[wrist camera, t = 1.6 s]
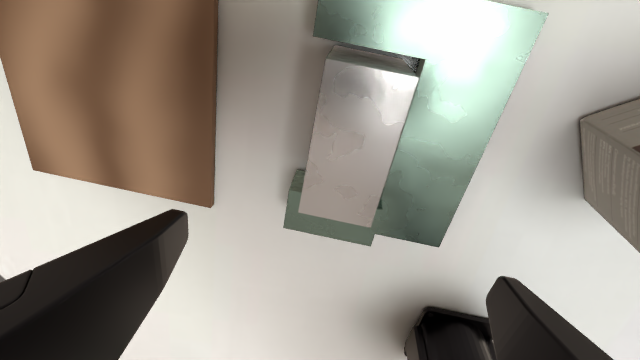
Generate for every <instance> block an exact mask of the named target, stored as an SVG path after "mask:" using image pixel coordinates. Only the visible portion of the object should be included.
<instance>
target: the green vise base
mask: <svg viewBox="0 0 640 360" xmlns="http://www.w3.org/2000/svg"><path fill="white" fill-rule="evenodd" d="M548 14H549V13H545V12H540V11H535V10H530V9H525V8H521V7H516V6H511V5H506V4H501V3H496V2H491V1H486V0H318V7H317V13H316V20H315V26H314V33H313V36H315V37H320V38H325V39H330V40H334V41H339V42H344V43H349V44H354V45H359V46H363V47H368V48H373V49H378V50H383V51H388V52H392V53H397V54H402V55H407V56H412V57H416V58H420V61H419V65H418V68H417V71H416V75H417V76H418V78H419V79H418V82H417V85H416V88H415V91H414V94H413V97H412V100H411V104H410V107H409V110H408V113H407V116H406V119H405V122H404V125H403V128H402V132H401V135H400V138H399V141H398V144H397V147H396V150H395V153H394V157H393V160H392V163H391V166H390V169H389V172H388V175H387V178H386V181H385V185H384V188H383V191H382V194H381V197H380V200H379V203H378V206H377V209H376V213H375V216H374V219H373V222H372V225H371V228H369V227H364V226H360V225H355V224H350V223H346V222H341V221H336V220H332V219H327V218H322V217H317V216H313V215H308V214H303V213H299V212H298V211H299V205H300V200H301V194H302V188H303V183H304V177H305V172H306V171H303V170H299V169H297V171H296V174H295V176H294V179H293V182H292V184H291V187H290V189H289V194H288V201H287V207H286V214H285V220H284V227H283V228H287V229H292V230H296V231H301V232H306V233H310V234H315V235H320V236H324V237H329V238H334V239H338V240H343V241H348V242H352V243H357V244H362V245H366V246H371V244H372V241H373V238H374V235H375V234H378V235H383V236H388V237H392V238H397V239H402V240H406V241H411V242H416V243H420V244H425V245H430V246H435V247H439V246H440V244H441V242H442V240H443V238H444V236H445V233H446V231H447V229H448V227H449V225H450V223H451V221H452V218H453V216H454V214H455V212H456V210H457V208H458V206H459V204H460V201H461V199H462V197H463V195H464V193H465V191H466V189H467V186H468V184H469V182H470V180H471V178H472V176H473V174H474V172H475V169H476V167H477V165H478V163H479V161H480V159H481V157H482V154H483V152H484V150H485V148H486V146H487V144H488V142H489V140H490V137H491V135H492V133H493V131H494V129H495V127H496V125H497V123H498V120H499V118H500V116H501V114H502V112H503V110H504V108H505V105H506V103H507V101H508V99H509V97H510V95H511V93H512V91H513V88H514V86H515V84H516V82H517V80H518V78H519V76H520V73H521V71H522V69H523V67H524V65H525V63H526V61H527V59H528V56H529V54H530V52H531V50H532V48H533V46H534V44H535V41H536V39H537V37H538V35H539V33H540V31H541V29H542V27H543V24H544V22H545V20H546V18H547V16H548Z"/></svg>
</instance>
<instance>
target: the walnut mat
mask: <svg viewBox="0 0 640 360" xmlns="http://www.w3.org/2000/svg"><path fill="white" fill-rule="evenodd" d="M217 35H218V0H0V58H1V61H2V65H3V68H4V71H5V75H6V78H7V82H8V85H9V89H10V92H11V96H12V99H13V102H14V106H15V109H16V113H17V116H18V120H19V123H20V127H21V130H22V133H23V137H24V140H25V144H26V147H27V151H28V154H29V158H30V161H31V164H32V168H33V170H35V171H40V172H45V173H49V174H54V175H59V176H63V177H68V178H73V179H77V180H82V181H87V182H91V183H96V184H101V185H105V186H110V187H115V188H119V189H124V190H129V191H134V192H138V193H143V194H148V195H152V196H157V197H162V198H166V199H171V200H176V201H180V202H185V203H190V204H194V205H199V206H204V207H208V208H211V207H212V206H213V204H214V175H215V128H216V81H217Z"/></svg>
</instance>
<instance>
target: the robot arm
mask: <svg viewBox="0 0 640 360" xmlns="http://www.w3.org/2000/svg"><path fill="white" fill-rule="evenodd" d="M187 240H188V216H187V213H186V212H184V211H180V210H175V209H171V210H169V211H166V212H164V213H162V214H159V215H157V216H155V217H152V218H150V219H148V220H145V221H143V222H141V223H138V224H136V225H134V226H131V227H129V228H127V229H124V230H122V231H120V232H117V233H115V234H113V235H110V236H108V237H106V238H103V239H101V240H99V241H96V242H94V243H92V244H89V245H87V246H85V247H82V248H80V249H78V250H75V251H73V252H71V253H68V254H66V255H64V256H61V257H59V258H57V259H54V260H52V261H50V262H47V263H45V264H43V265H40V266H38V267H36V268H34V269H33V270H28V271H26V272H24V273H21V274H19V275H17V276H14V277H12V278H10V279H7V280H5V281H2V282H0V360H118V359H119V358H120V356H121V355H122V353H123V351H124V350H125V348H126V347H127V345H128V344H129V342H130V341H131V339H132V337H133V336H134V334H135V333H136V331H137V330H138V328H139V327H140V325H141V323H142V322H143V320H144V319H145V317H146V316H147V314H148V312H149V311H150V309H151V308H152V306H153V305H154V303H155V302H156V300H157V298H158V297H159V295H160V294H161V292H162V290H163V289H164V287H165V285H166V283H167V281H168V279H169V277H170V275H171V273H172V271H173V269H174V267H175V265H176V263H177V261H178V259H179V257H180V255H181V253H182V251H183V249H184V247H185V245H186V242H187ZM486 307H487V312H488V317H489V320H488V319H483V318H479V317H474V316H469V315H465V314H460V313H455V312H451V311H446V310H441V309H437V308H432V307H427V308H425V309H424V310H423V312H422V314H421V316H420V318H419V320H418V322H417V324H416V325H415V326H414V327H413V328H412V330H411V332H410V335H409V337H408V339H407V341H406V343H405V348H404V354H405V355H406V356H407V360H613V359H612V358H611V357H610V356H609V355H607V354H606V353H605V352H604V351H603V350H601V349H600V348H599V347H598V346H597V345H595V344H594V343H593V342H592V341H590V340H589V339H588V338H587V337H586V336H584V335H583V334H582V333H581V332H580V331H578V330H577V329H576V328H575V327H574V326H572V325H571V324H570V323H569V322H568V321H566V320H565V319H564V318H563V317H562V316H560V315H559V314H558V313H557V312H556V311H554V310H553V309H552V308H551V307H550V306H548V305H547V304H546V303H545V302H544V301H542V300H541V299H540V298H539V297H538V296H536V295H535V294H534V293H533V292H532V291H530V290H529V289H528V288H527V287H526V286H524V285H523V284H522V283H521V282H520V281H518V280H517V279H515V278H510V277H506V276H500V277H499V278H497V280H496V281H495V283H494V285H493V286H492V288H491V290H490V291H489V293H488V294H487V297H486ZM492 340H493V341H492Z"/></svg>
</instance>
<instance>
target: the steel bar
mask: <svg viewBox="0 0 640 360" xmlns="http://www.w3.org/2000/svg"><path fill="white" fill-rule="evenodd" d="M418 79H419V78H418V76H417V75H416V74H415V73H414V72H413V71H412V70H411V68H410V67H409V66H408V65H407V64H406V63H405V62H404V60H403V59H400V58H396V57H391V56H386V55H381V54H376V53H371V52H367V51H362V50H357V49H352V48H347V47H343V46H338V45H335V46H334V47H333V49H332V50H331V51H330V53H329V54H328V56H327V57H326V59H325V65H324V70H323V76H322V82H321V87H320V93H319V98H318V104H317V110H316V115H315V121H314V127H313V132H312V138H311V143H310V149H309V155H308V160H307V166H306V172H305V177H304V183H303V188H302V194H301V200H300V205H299V211H298V212H299V213H303V214H308V215H313V216H317V217H322V218H327V219H332V220H336V221H341V222H346V223H350V224H355V225H360V226H364V227H369V228H371V225H372V222H373V219H374V216H375V213H376V209H377V206H378V203H379V200H380V197H381V194H382V191H383V188H384V185H385V181H386V178H387V175H388V172H389V169H390V166H391V163H392V160H393V157H394V153H395V150H396V147H397V144H398V141H399V138H400V135H401V132H402V128H403V125H404V122H405V119H406V116H407V113H408V110H409V107H410V104H411V100H412V97H413V94H414V91H415V88H416V85H417V82H418Z"/></svg>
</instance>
